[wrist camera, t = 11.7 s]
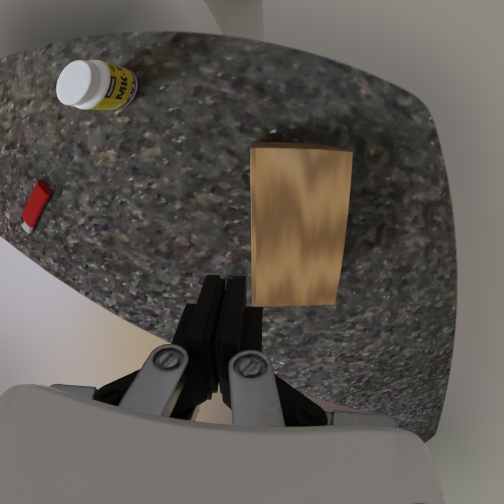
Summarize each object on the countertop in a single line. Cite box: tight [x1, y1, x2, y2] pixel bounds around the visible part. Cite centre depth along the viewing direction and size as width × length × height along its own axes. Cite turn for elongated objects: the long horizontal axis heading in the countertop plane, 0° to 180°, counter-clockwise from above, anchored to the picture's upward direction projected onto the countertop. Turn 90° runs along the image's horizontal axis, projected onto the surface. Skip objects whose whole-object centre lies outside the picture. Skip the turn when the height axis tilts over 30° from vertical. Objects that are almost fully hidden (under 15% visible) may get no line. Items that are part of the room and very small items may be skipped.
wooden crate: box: [250, 142, 353, 306], centre depth 25 cm, size 13×8×7 cm
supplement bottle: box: [56, 60, 137, 110], centre depth 19 cm, size 5×5×8 cm
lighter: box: [21, 180, 51, 233], centre depth 28 cm, size 3×1×8 cm
